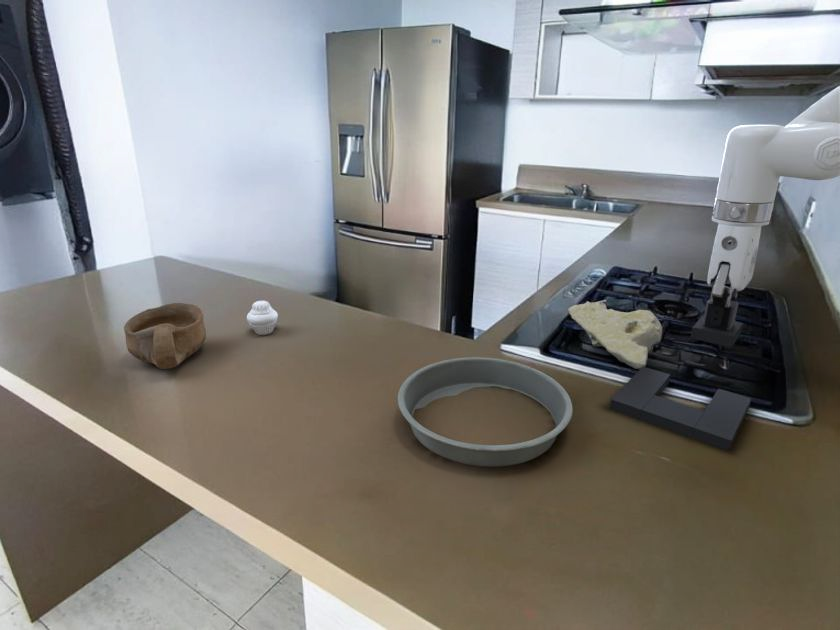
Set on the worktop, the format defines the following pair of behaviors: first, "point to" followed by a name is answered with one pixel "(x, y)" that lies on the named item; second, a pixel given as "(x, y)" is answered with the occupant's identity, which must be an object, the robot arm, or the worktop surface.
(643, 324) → the cheese
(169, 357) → the bowl
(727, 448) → the dark grey u-shaped block
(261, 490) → the worktop surface
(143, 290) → the worktop surface
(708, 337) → the grey stepped block
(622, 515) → the worktop surface
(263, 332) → the muffin
